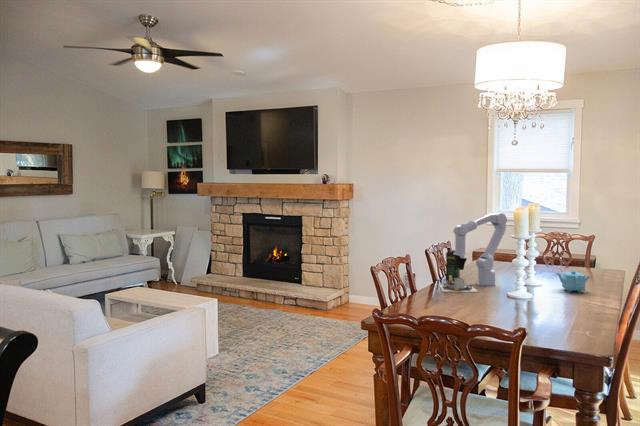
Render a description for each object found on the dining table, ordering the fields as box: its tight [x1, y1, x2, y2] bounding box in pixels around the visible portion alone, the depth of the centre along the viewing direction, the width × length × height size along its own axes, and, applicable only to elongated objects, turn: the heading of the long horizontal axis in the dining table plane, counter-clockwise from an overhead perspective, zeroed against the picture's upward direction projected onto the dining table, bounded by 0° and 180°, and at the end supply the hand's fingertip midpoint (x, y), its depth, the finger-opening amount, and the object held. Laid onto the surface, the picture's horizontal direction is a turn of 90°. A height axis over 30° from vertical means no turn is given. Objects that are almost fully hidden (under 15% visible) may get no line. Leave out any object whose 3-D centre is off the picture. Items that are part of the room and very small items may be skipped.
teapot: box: [555, 270, 591, 294], centre depth 289 cm, size 16×18×11 cm
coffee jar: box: [445, 249, 461, 281], centre depth 327 cm, size 10×8×19 cm
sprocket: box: [442, 276, 473, 291], centre depth 299 cm, size 16×17×6 cm
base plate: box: [438, 284, 479, 293], centre depth 299 cm, size 19×19×1 cm
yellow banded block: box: [454, 277, 465, 288], centre depth 292 cm, size 5×3×5 cm, turn 85°
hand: (460, 268), depth 306 cm, fingers open, 7 cm apart
